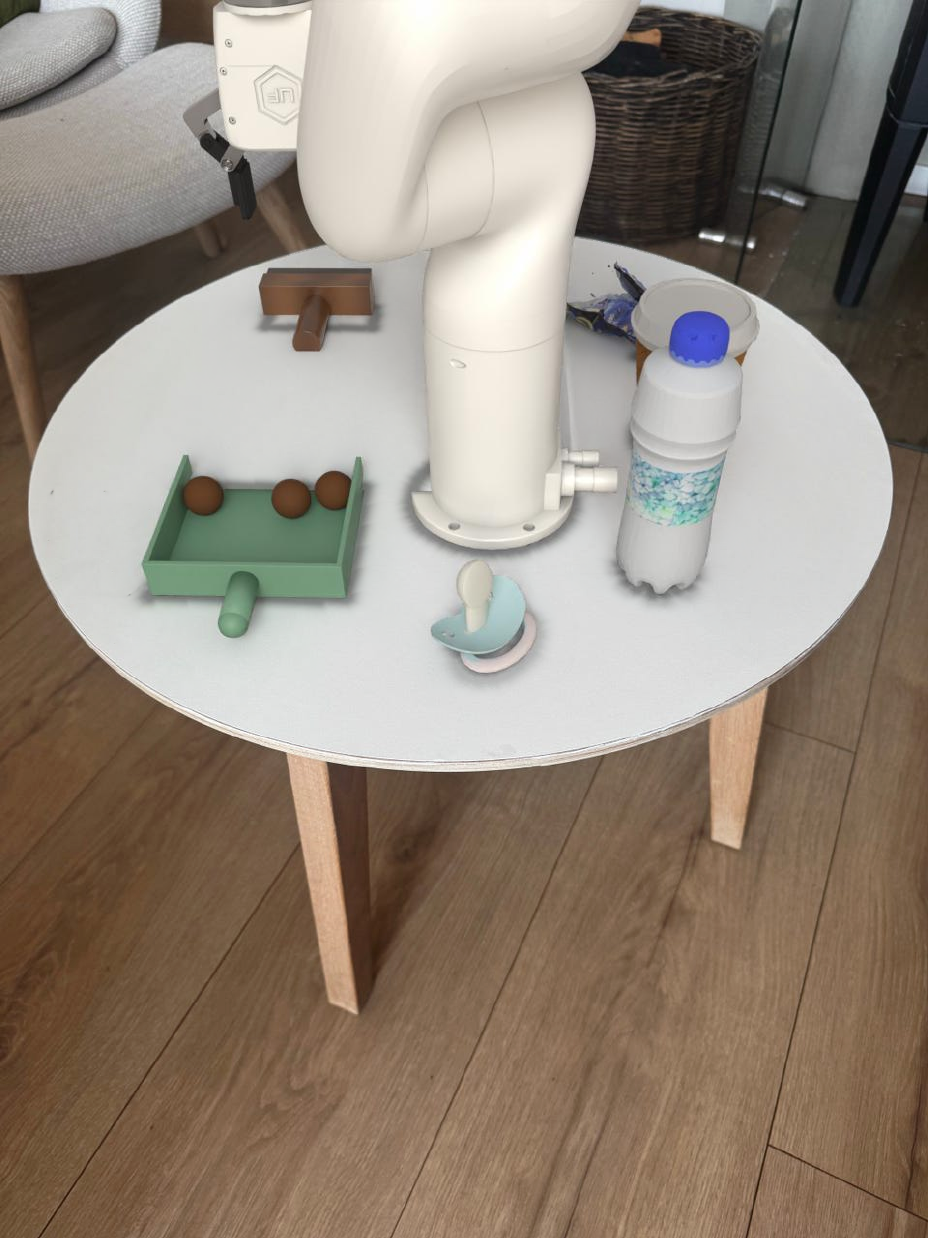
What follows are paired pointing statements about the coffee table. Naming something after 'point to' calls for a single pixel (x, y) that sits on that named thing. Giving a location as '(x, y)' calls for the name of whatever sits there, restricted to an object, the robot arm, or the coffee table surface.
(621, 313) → the snack package
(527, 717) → the coffee table surface
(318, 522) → the dustpan
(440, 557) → the coffee table surface
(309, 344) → the brush
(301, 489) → the crumb
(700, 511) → the bottle
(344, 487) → the crumb
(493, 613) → the pacifier
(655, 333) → the disposable coffee cup
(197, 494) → the crumb
